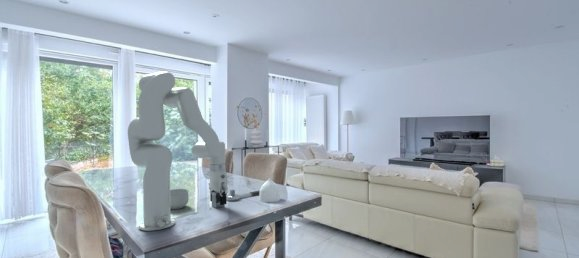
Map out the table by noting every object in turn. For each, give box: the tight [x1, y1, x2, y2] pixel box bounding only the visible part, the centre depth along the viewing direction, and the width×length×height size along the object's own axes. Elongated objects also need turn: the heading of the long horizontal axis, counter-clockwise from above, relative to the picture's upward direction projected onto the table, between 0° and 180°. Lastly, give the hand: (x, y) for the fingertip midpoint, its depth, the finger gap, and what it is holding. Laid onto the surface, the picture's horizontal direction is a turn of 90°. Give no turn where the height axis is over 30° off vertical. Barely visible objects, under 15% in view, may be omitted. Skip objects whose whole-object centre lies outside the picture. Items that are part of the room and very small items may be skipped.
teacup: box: [170, 188, 189, 210], centre depth 134 cm, size 14×11×8 cm
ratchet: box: [226, 189, 260, 202], centre depth 153 cm, size 7×23×5 cm, turn 132°
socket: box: [211, 191, 226, 209], centre depth 134 cm, size 4×4×7 cm
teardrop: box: [258, 176, 281, 203], centre depth 147 cm, size 11×11×12 cm
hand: (218, 202), depth 135 cm, fingers open, 9 cm apart
